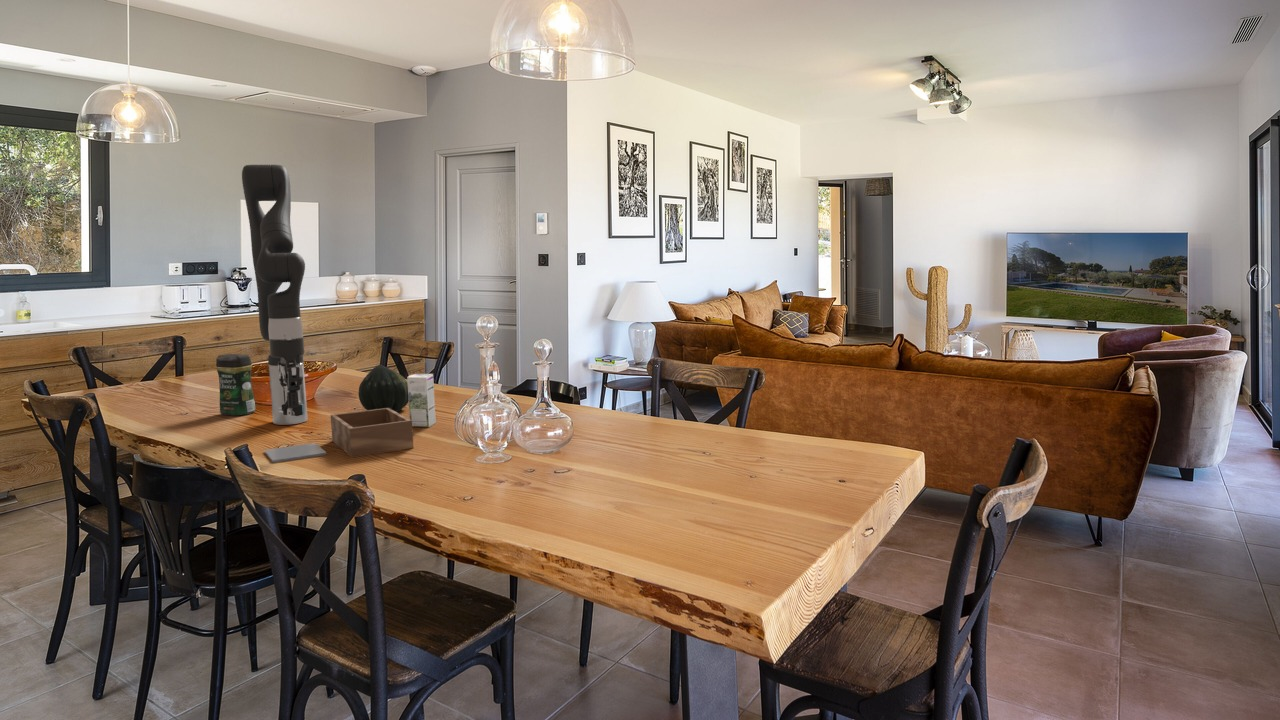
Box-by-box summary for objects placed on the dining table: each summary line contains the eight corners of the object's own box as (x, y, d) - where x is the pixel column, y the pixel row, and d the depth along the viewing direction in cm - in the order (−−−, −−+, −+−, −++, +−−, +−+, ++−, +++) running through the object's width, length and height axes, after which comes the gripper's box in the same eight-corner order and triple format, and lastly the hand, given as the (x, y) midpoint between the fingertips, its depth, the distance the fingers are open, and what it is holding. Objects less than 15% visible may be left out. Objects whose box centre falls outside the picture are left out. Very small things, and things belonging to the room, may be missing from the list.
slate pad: (264, 452, 196) (264, 449, 196) (315, 445, 202) (315, 442, 202) (273, 462, 186) (272, 460, 186) (326, 454, 192) (326, 452, 192)
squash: (399, 399, 234) (404, 357, 242) (348, 402, 234) (355, 360, 242) (411, 422, 246) (416, 381, 254) (363, 425, 246) (370, 384, 254)
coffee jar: (215, 415, 241) (209, 355, 238) (235, 410, 248) (230, 351, 246) (240, 417, 238) (235, 356, 235) (260, 411, 246) (255, 352, 243)
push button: (272, 416, 192) (269, 375, 190) (287, 411, 197) (284, 372, 195) (295, 417, 190) (292, 376, 188) (310, 413, 195) (307, 373, 193)
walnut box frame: (332, 441, 206) (330, 414, 205) (389, 433, 215) (388, 407, 214) (351, 457, 190) (349, 428, 189) (413, 447, 198) (411, 420, 197)
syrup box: (436, 423, 226) (433, 373, 224) (429, 427, 220) (426, 376, 218) (417, 422, 227) (414, 373, 225) (409, 427, 221) (406, 376, 219)
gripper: (264, 335, 194) (269, 403, 196) (274, 340, 182) (280, 412, 184) (297, 332, 198) (302, 399, 200) (309, 337, 186) (314, 408, 188)
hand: (291, 405), depth 192 cm, fingers closed on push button, 5 cm apart
